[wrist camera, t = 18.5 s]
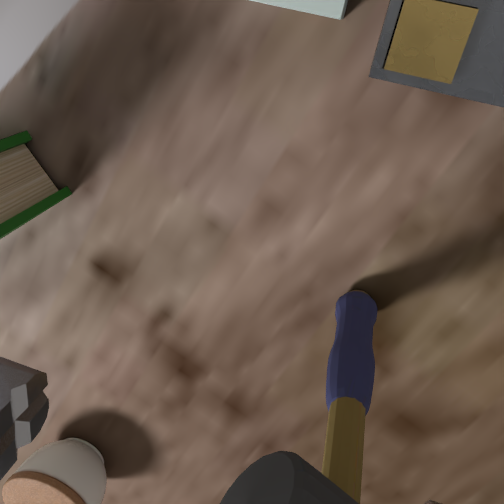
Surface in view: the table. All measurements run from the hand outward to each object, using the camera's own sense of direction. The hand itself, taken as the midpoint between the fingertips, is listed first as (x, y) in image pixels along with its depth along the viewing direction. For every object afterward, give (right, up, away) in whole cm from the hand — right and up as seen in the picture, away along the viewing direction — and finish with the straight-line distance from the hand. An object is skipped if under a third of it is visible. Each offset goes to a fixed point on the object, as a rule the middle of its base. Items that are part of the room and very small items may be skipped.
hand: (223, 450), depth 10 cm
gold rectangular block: (+13, +20, +25) cm, 35 cm away
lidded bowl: (-24, -26, +60) cm, 70 cm away
